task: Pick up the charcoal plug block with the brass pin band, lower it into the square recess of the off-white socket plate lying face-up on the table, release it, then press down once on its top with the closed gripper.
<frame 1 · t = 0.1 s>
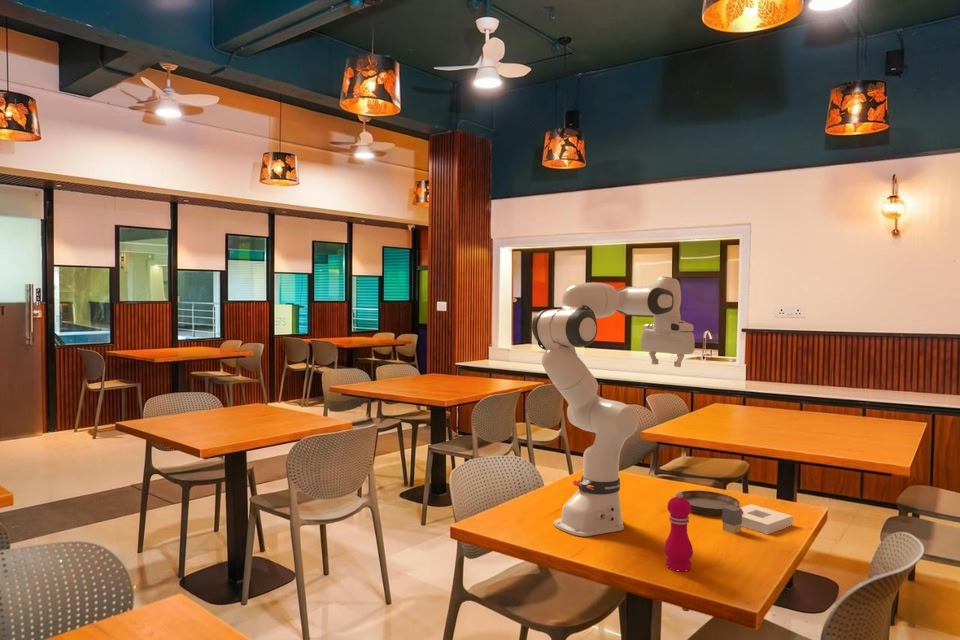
hand: (666, 365, 220), 48 cm above the table, tool pointing down, fingers open, 8 cm apart
socket plate: (759, 523, 204), on the table
plant saucer: (707, 508, 220), on the table
plug: (731, 530, 198), on the table
pepper mill: (678, 567, 170), on the table
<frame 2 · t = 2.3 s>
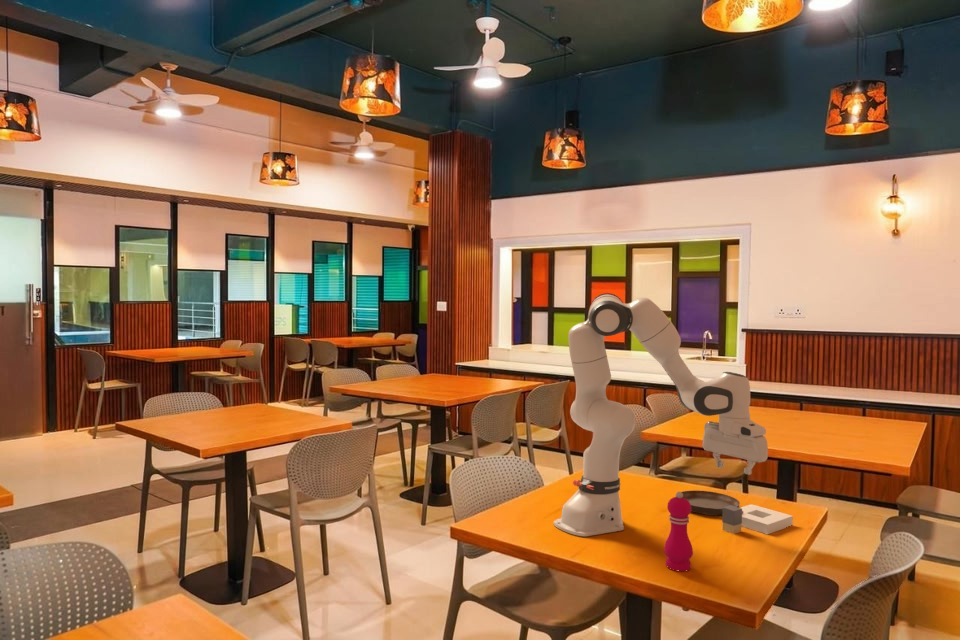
hand: (733, 470, 197), 18 cm above the table, tool pointing down, fingers open, 8 cm apart
nothing on the table moved.
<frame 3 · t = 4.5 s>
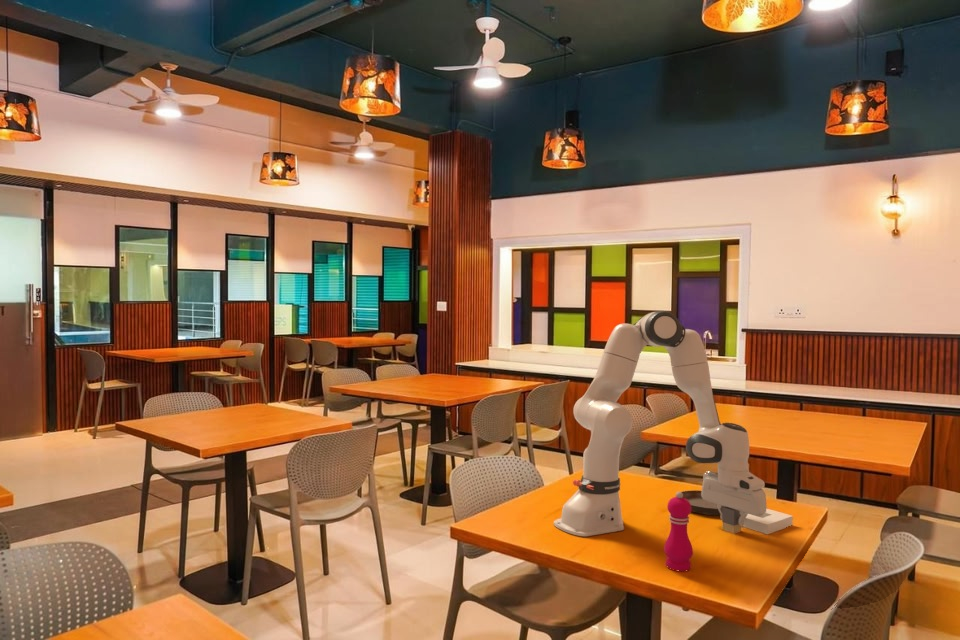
hand: (732, 522, 198), 3 cm above the table, tool pointing down, fingers closed on plug, 4 cm apart
plug: (731, 530, 198), on the table, touching gripper
everything else where it was.
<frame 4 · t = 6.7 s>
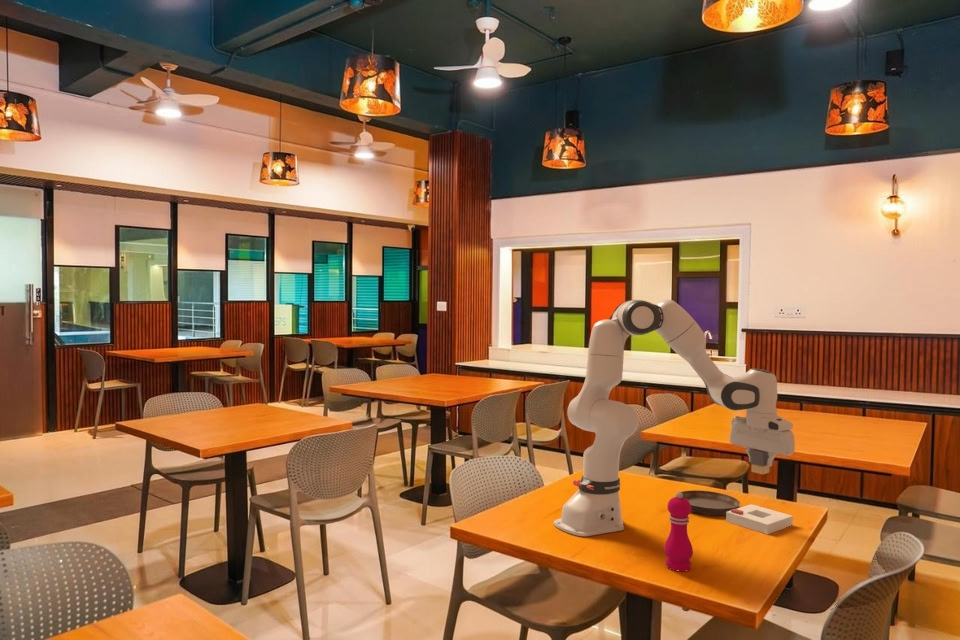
hand: (760, 464, 204), 19 cm above the table, tool pointing down, fingers closed on plug, 4 cm apart
plug: (760, 472, 204), point 16 cm above the table, touching gripper
everything else where it was.
when the fingers open (5 cm above the table, at t = 9.0 s): plug drops 2 cm, resting in socket plate.
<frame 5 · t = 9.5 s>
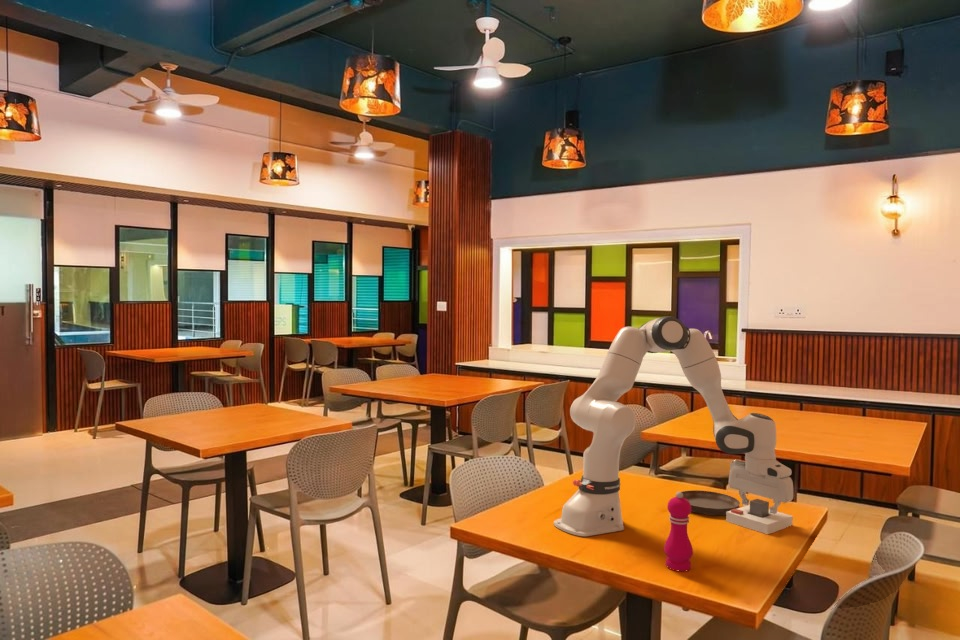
hand: (759, 508, 204), 5 cm above the table, tool pointing down, fingers open, 8 cm apart
plug: (758, 523, 204), resting in socket plate
everything else where it was.
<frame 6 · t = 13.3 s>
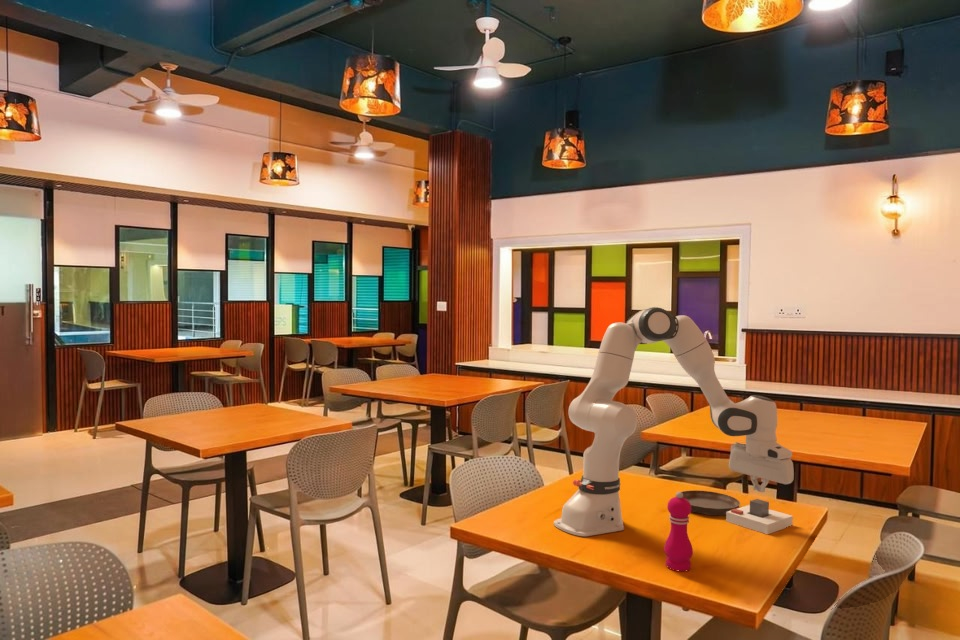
hand: (759, 491, 204), 10 cm above the table, tool pointing down, fingers closed
nothing on the table moved.
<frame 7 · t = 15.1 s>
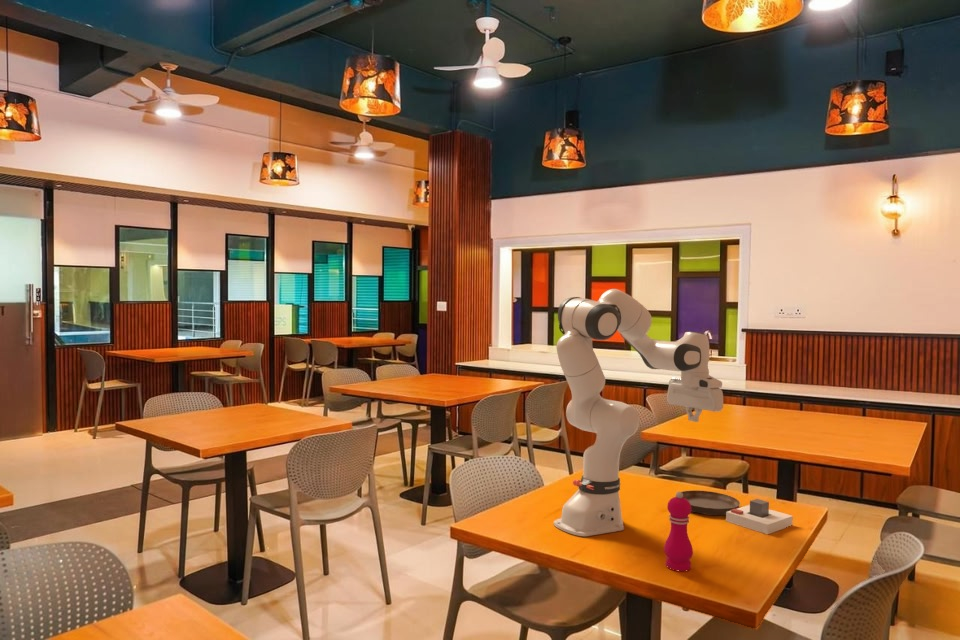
hand: (693, 421, 218), 30 cm above the table, tool pointing down, fingers closed
nothing on the table moved.
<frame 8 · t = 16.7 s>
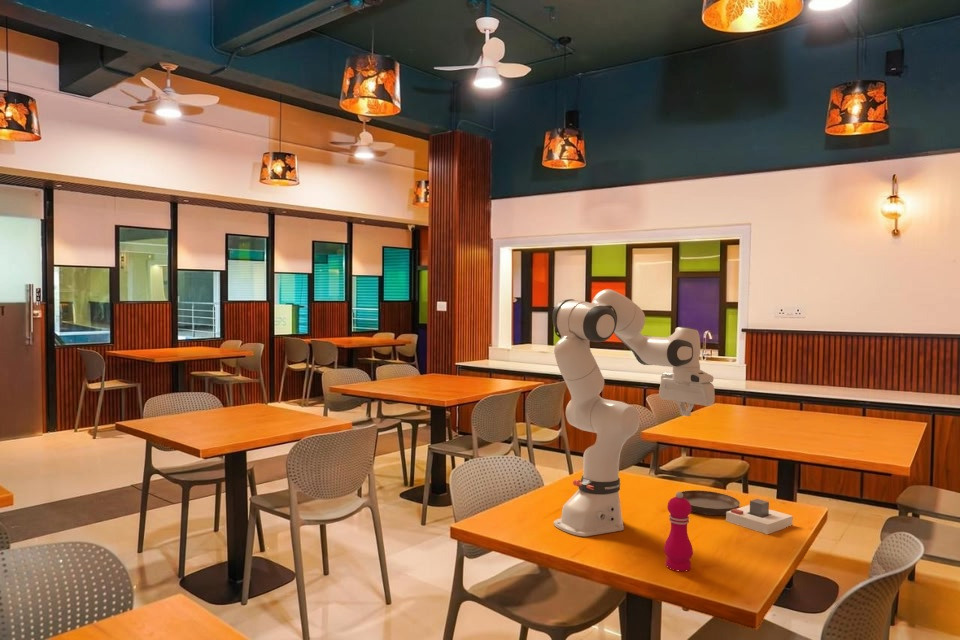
hand: (685, 415, 219), 31 cm above the table, tool pointing down, fingers closed
nothing on the table moved.
at the end: plug 0.0 cm off-centre on the socket plate, point 0.0 cm above the socket plate's base; plug tilted 0°; the gripper is holding nothing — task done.
